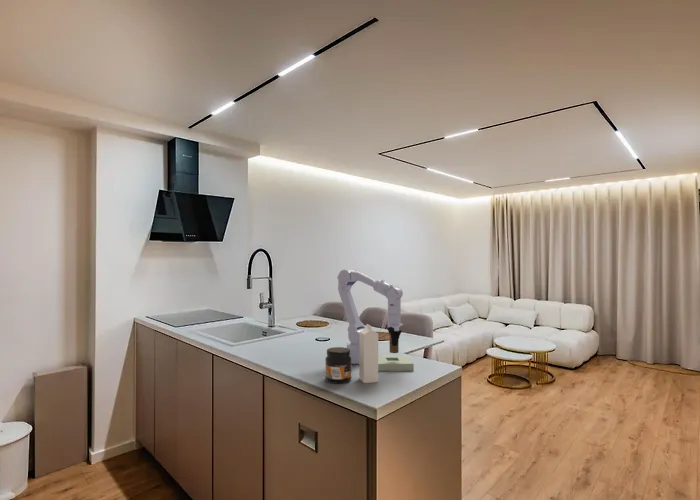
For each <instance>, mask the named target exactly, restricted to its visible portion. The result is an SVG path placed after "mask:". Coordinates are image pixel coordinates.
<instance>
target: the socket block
mask: <svg viewBox="0 0 700 500" xmlns="http://www.w3.org/2000/svg"><path fill="white" fill-rule="evenodd" d="M390 371H392V372H395V371H396V372H398V371H399V372H409V371H410V372H412V371H414V362H413V361H412V360H411V359H410V357H409V356H408V355H407V354H378V372H390Z"/></svg>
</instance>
